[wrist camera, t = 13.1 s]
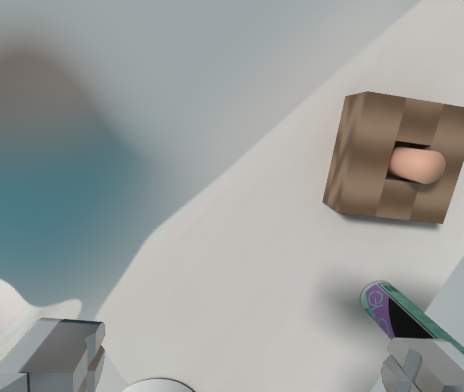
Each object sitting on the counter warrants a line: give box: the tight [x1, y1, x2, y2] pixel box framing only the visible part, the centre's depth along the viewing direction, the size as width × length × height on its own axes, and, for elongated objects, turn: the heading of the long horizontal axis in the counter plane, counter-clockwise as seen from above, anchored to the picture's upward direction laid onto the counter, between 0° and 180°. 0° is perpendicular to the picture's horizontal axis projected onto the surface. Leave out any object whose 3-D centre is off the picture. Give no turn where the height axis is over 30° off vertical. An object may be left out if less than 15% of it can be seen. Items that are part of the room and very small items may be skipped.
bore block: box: [323, 92, 464, 224], centre depth 35 cm, size 14×14×5 cm
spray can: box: [360, 281, 464, 355], centre depth 33 cm, size 6×6×20 cm
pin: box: [387, 146, 446, 184], centre depth 32 cm, size 4×4×7 cm
